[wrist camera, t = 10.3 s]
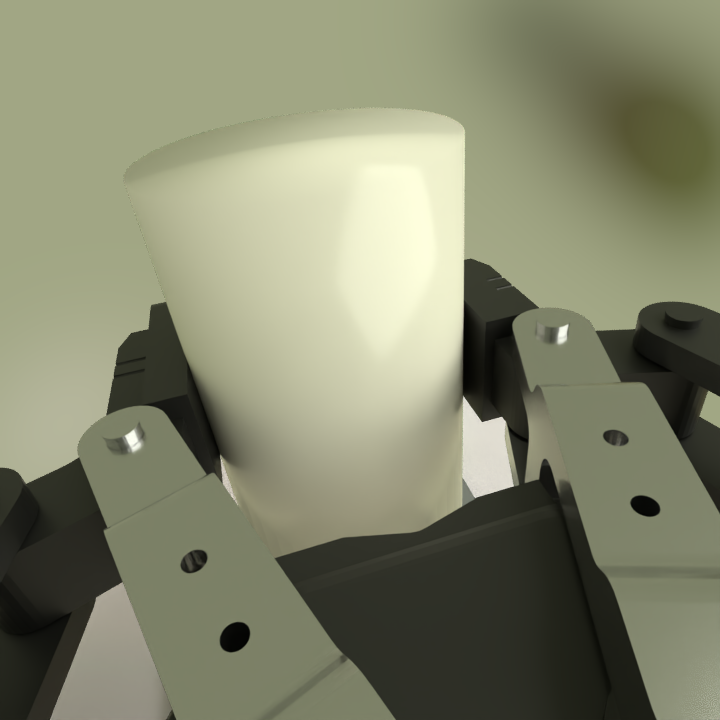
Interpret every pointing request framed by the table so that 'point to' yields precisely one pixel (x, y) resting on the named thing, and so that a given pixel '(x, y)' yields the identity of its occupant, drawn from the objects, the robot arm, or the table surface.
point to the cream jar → (320, 312)
